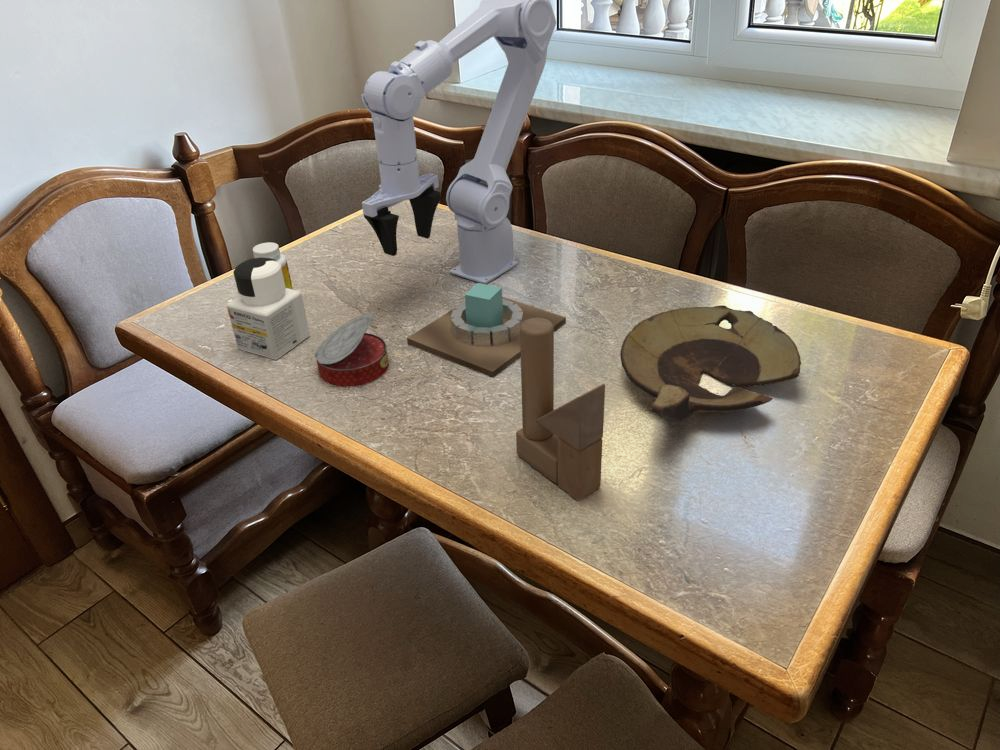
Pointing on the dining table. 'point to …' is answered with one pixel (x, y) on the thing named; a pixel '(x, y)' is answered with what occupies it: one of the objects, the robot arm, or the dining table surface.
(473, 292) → the teal peg
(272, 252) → the supplement bottle
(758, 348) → the broken plate
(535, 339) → the wooden block
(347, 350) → the canned food
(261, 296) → the container
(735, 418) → the dining table surface
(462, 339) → the steel collar
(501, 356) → the walnut board
